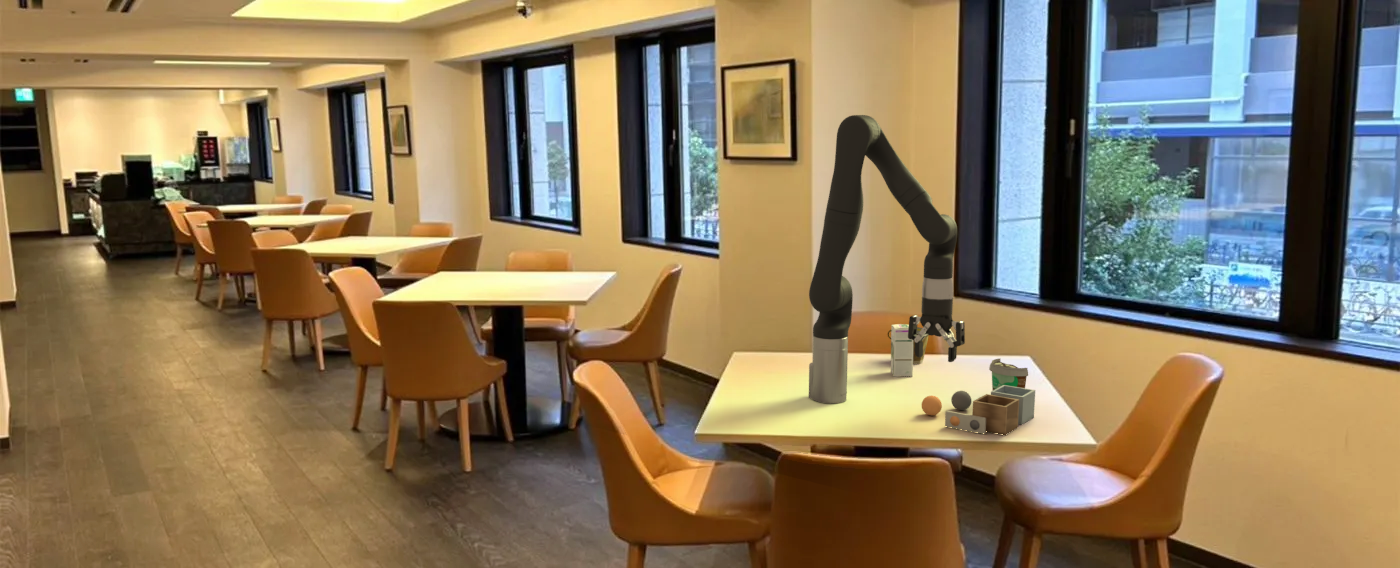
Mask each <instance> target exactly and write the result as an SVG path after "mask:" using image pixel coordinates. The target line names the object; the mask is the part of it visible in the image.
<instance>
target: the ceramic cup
mask: <svg viewBox="0 0 1400 568" xmlns="http://www.w3.org/2000/svg"><path fill="white" fill-rule="evenodd" d="M922 328H923V327H918V326H917V335H918V333H919V332H920V331H921V330H922ZM890 333H891V329H890V330H888V331H887V337H888V338H889V339H890V340H891V335H890ZM929 336H930V335H929V334H928V335H927V336H926V337H925V338H924V339H923V340H922V342H923V356H922V357H917V355H916V354H915V342H914V340H913V365H920V364H922V363H923V362H924V358H925V353H926V349H927V344H928V339H929Z"/></svg>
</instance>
